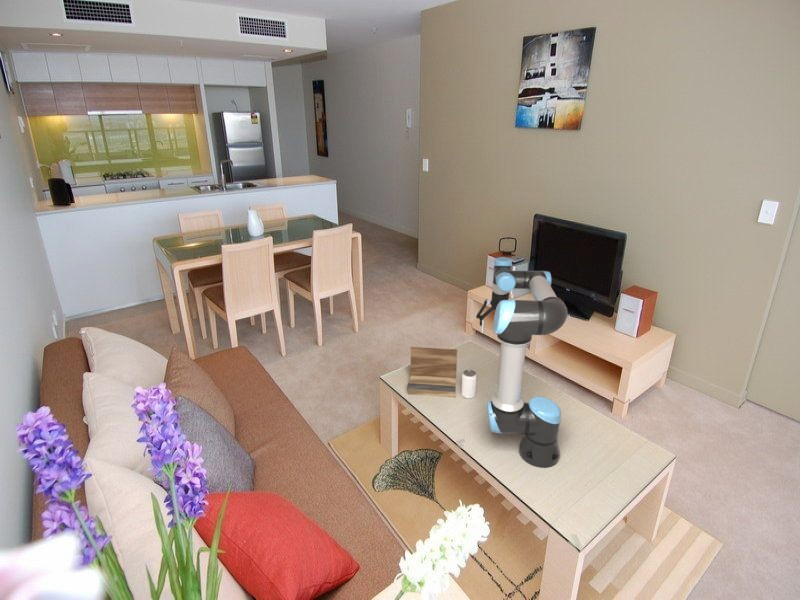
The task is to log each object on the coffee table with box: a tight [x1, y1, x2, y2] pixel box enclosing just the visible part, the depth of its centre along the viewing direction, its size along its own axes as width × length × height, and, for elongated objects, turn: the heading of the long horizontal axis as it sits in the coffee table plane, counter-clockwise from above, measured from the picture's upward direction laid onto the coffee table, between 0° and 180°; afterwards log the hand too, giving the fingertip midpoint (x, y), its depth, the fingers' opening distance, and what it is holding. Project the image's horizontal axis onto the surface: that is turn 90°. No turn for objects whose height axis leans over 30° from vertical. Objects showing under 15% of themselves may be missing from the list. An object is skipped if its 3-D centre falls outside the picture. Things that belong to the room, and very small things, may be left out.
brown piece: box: [407, 346, 458, 398], centre depth 218 cm, size 13×22×18 cm, turn 83°
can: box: [461, 369, 477, 400], centre depth 213 cm, size 6×6×12 cm
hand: (497, 333), depth 214 cm, fingers open, 13 cm apart
